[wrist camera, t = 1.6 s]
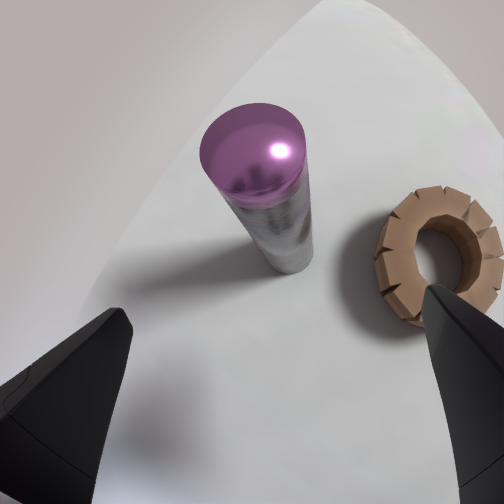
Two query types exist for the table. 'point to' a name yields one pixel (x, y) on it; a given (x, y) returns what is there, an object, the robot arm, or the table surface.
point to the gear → (463, 235)
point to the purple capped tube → (264, 179)
